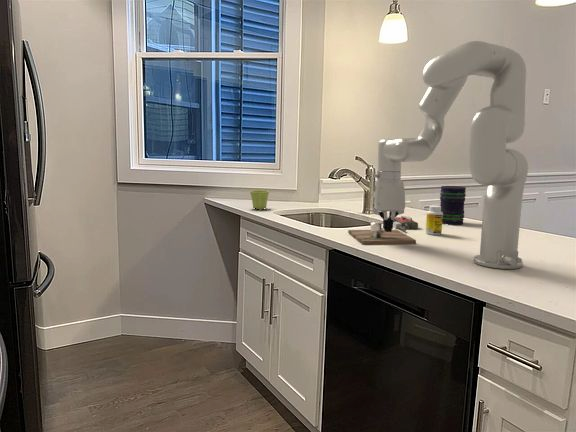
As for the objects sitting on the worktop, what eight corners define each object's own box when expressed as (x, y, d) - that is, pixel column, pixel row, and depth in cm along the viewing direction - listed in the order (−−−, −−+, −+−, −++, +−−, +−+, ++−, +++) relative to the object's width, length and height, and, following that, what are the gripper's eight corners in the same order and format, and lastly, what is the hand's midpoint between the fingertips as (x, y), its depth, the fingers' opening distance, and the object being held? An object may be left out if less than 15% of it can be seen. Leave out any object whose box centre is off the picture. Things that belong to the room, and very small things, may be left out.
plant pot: (247, 208, 238) (247, 190, 237) (266, 207, 241) (266, 189, 239) (252, 210, 229) (252, 192, 228) (271, 210, 232) (271, 192, 231)
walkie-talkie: (386, 224, 200) (402, 233, 180) (387, 213, 199) (402, 221, 179) (407, 224, 200) (425, 233, 181) (408, 213, 200) (426, 222, 180)
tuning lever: (379, 237, 162) (380, 224, 162) (369, 237, 163) (369, 224, 163) (384, 230, 176) (384, 218, 175) (373, 229, 177) (374, 217, 176)
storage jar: (468, 224, 199) (471, 187, 197) (449, 225, 196) (451, 188, 194) (452, 220, 209) (454, 185, 206) (433, 221, 205) (435, 186, 203)
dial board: (415, 243, 161) (416, 239, 161) (362, 244, 159) (362, 240, 159) (396, 232, 180) (396, 228, 180) (348, 233, 178) (348, 229, 177)
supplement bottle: (434, 236, 175) (436, 207, 173) (422, 233, 179) (423, 205, 178) (444, 234, 178) (446, 206, 176) (432, 232, 182) (434, 204, 181)
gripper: (370, 177, 158) (369, 233, 161) (415, 177, 160) (413, 232, 163) (364, 176, 166) (363, 230, 168) (406, 175, 168) (405, 229, 170)
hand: (387, 231), depth 165 cm, fingers closed
